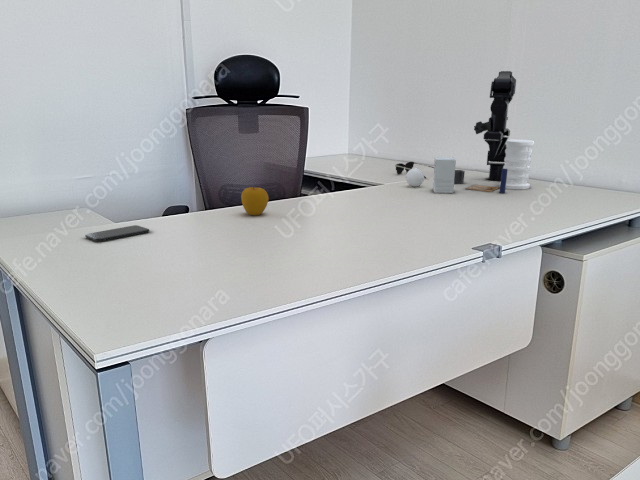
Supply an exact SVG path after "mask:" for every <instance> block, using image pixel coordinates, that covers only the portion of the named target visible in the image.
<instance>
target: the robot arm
mask: <svg viewBox="0 0 640 480" xmlns="http://www.w3.org/2000/svg"><path fill="white" fill-rule="evenodd" d="M516 86H517V79H516V78H515V77H514V76H513V71H511V70H502V71H498V75H497V77H495V78H494V79H493V81H491V84H490V91H489V99H493V100H492V103H491V104H490V109H489V110H490V112H491V114H490V117H489V118H488V121H485V122H482V121H477V122H475V125H474V128H473V131H474V132H475V135H479V134H481V133H483V132H484V133H483V140H484V142H485V143H487V145H488V149H489V150H487V155H486V156H487V158H486V166H489V170H488V171H489V172H488V173H489V174H488V177H486V178H485V180H487V181H490V180H491V181H497V182H501V174H502V169H504V168H503V167H504V165H505V161H504V159H505V157H506V153H505V150H506V148H507V145H506V144H505V143H506V141H507V140H509V138H510V135H511V130H510V129H509V128H507V121H508V120H509V116H508V113H509V112H508V111H509V104H510V103H511V102H512V100H513V99H514V96H515V94H516Z"/></svg>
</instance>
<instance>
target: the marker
mask: <svg viewBox="0 0 640 480" xmlns="http://www.w3.org/2000/svg"><path fill="white" fill-rule="evenodd" d="M507 170H508V169H502V174H501V181H500V182H501V184H500V183H499V194H506V189H507V188H506V179H507Z"/></svg>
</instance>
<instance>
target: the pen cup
mask: <svg viewBox="0 0 640 480" xmlns="http://www.w3.org/2000/svg"><path fill="white" fill-rule="evenodd" d="M464 183H465V170H464V169H455V177H454V185H462V184H464Z"/></svg>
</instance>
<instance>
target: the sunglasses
mask: <svg viewBox="0 0 640 480" xmlns="http://www.w3.org/2000/svg"><path fill="white" fill-rule="evenodd" d="M414 164H415V165H419V166H424V167H428V168H432V169H434V166H431V165H427V164H422V163H418V162H415V161H408V162H406V163H396V164H395V165H394V166H395V171H396V174H397V175H402V174H403V172H404V171H405V172H406V174H407V173H408V171H409V170H410V169H413V168H414ZM425 179H427V177H426V176H425V175H424V180H425Z"/></svg>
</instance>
